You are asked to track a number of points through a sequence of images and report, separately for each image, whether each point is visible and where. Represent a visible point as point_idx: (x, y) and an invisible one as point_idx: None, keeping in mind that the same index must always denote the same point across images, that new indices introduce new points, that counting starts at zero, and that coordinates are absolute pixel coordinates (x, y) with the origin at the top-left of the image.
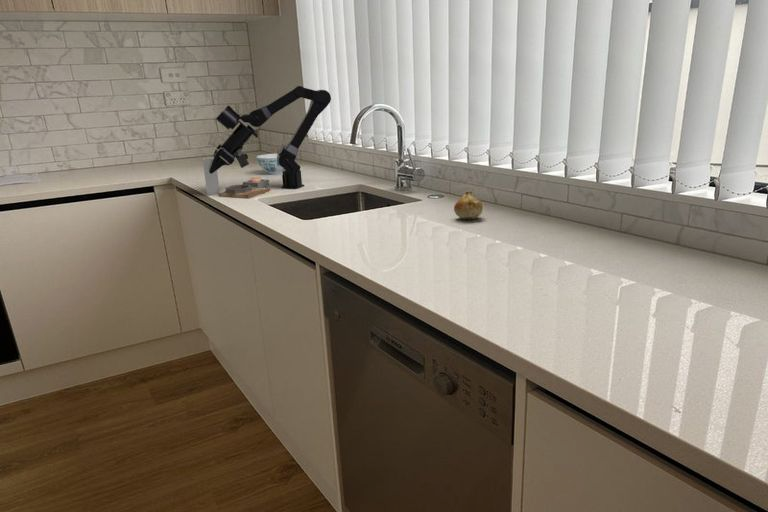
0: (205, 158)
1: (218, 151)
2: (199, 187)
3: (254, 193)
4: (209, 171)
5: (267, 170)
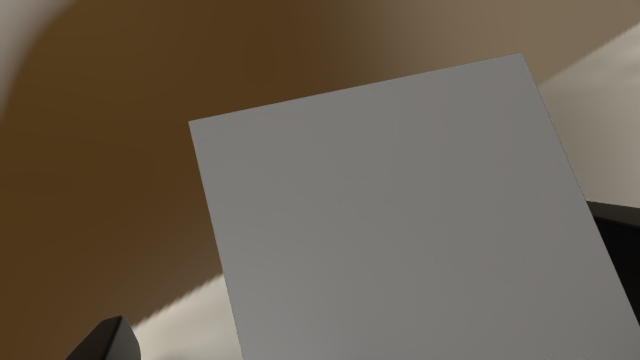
0: (380, 155)
1: None
2: (603, 86)
3: None
4: (96, 330)
5: None
